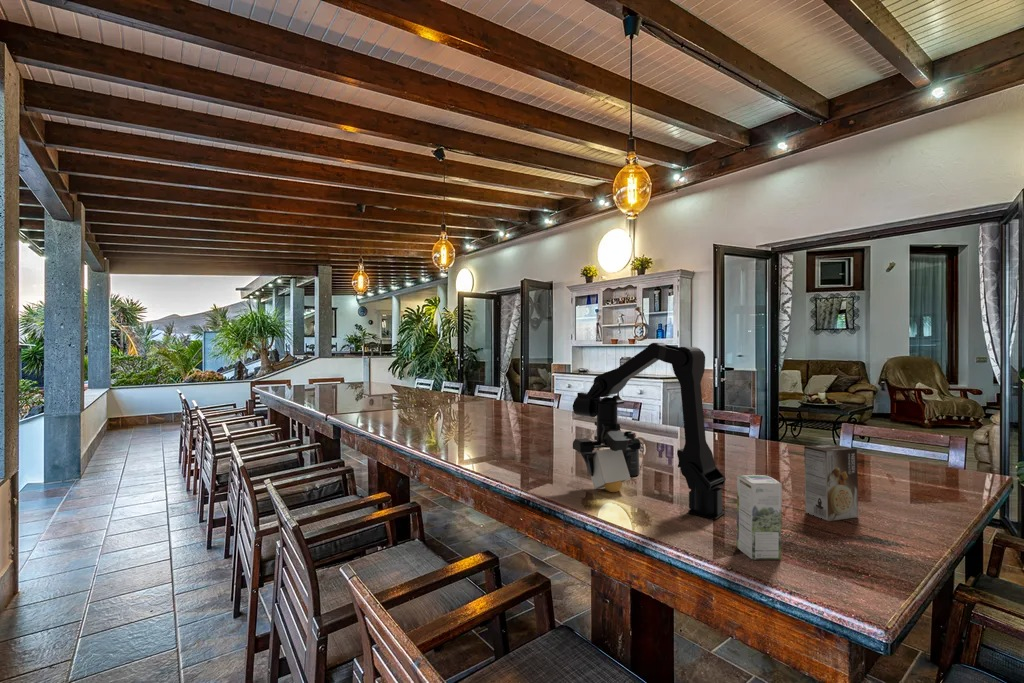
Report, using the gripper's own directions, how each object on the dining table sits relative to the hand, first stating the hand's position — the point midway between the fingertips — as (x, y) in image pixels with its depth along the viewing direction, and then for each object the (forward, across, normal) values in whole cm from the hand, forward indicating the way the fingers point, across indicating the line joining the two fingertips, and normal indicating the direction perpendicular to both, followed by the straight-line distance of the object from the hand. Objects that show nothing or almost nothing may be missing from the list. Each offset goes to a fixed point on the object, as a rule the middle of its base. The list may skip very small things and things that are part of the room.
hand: (606, 474), depth 135 cm
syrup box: (+4, +7, -48) cm, 48 cm away
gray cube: (+2, 0, -3) cm, 4 cm away
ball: (+1, 0, -3) cm, 4 cm away
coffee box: (+4, +40, -35) cm, 53 cm away
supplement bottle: (+4, +14, +12) cm, 19 cm away
